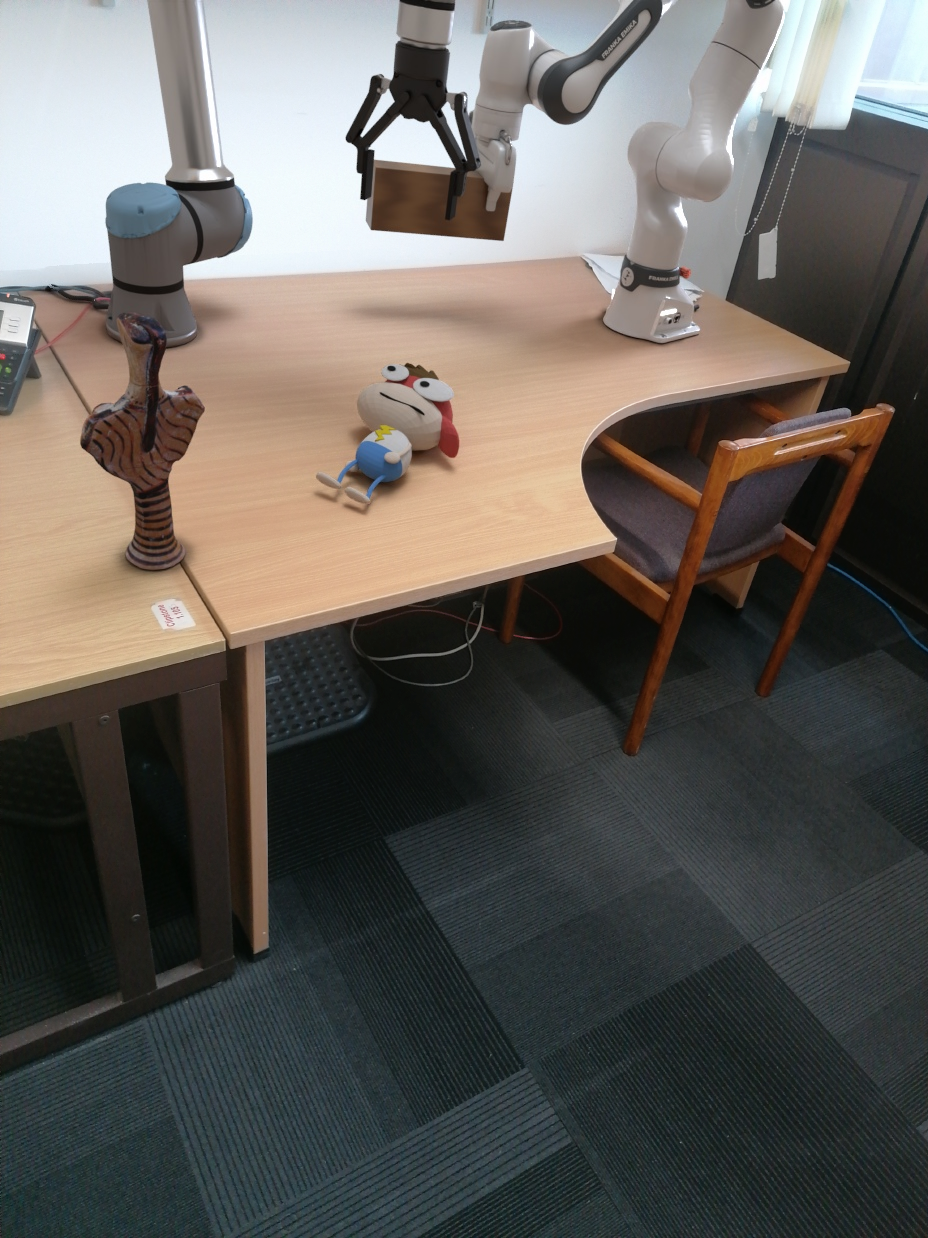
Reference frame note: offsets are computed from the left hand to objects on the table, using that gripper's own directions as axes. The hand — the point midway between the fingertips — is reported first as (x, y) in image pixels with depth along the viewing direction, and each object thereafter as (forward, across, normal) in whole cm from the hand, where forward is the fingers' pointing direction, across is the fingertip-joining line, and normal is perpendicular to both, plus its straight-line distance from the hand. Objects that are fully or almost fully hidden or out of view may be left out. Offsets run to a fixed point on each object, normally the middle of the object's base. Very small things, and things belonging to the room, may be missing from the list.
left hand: (407, 208), depth 134 cm
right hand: (+8, -1, -43) cm, 44 cm away
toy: (+30, -8, +22) cm, 38 cm away
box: (+13, +7, -38) cm, 41 cm away
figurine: (+30, +8, +59) cm, 67 cm away
